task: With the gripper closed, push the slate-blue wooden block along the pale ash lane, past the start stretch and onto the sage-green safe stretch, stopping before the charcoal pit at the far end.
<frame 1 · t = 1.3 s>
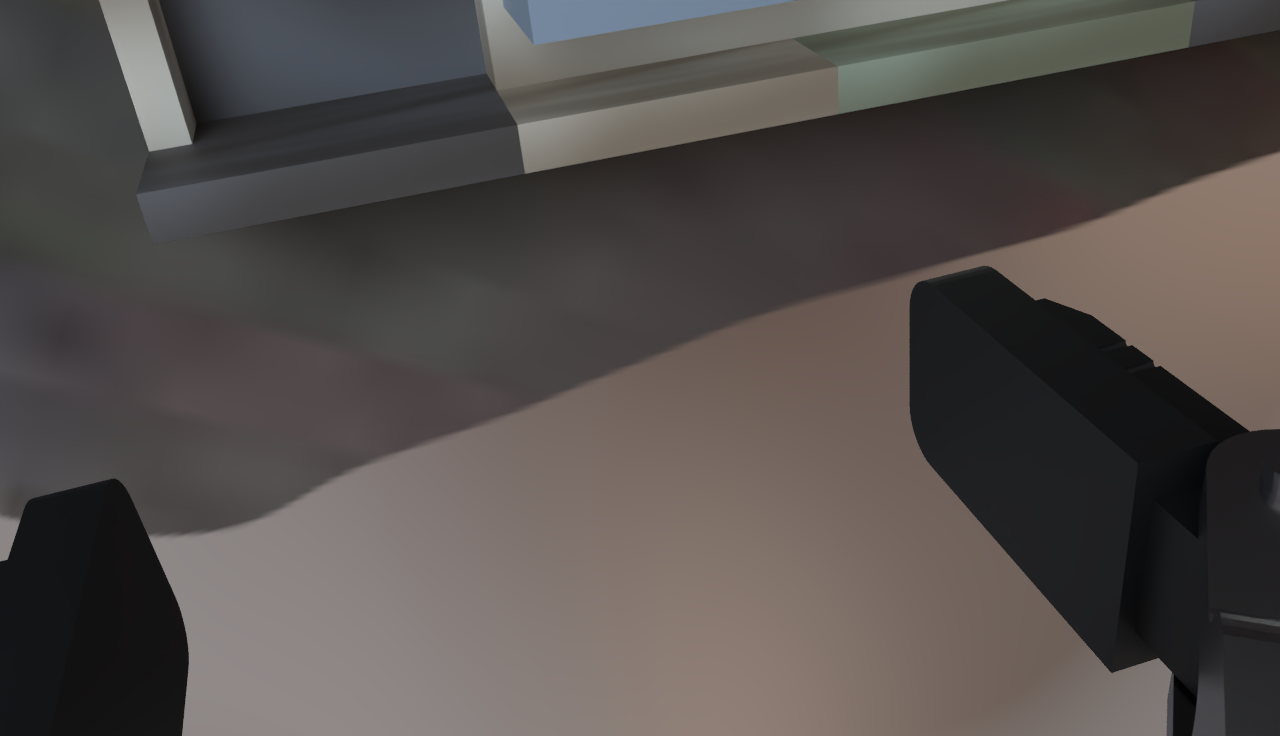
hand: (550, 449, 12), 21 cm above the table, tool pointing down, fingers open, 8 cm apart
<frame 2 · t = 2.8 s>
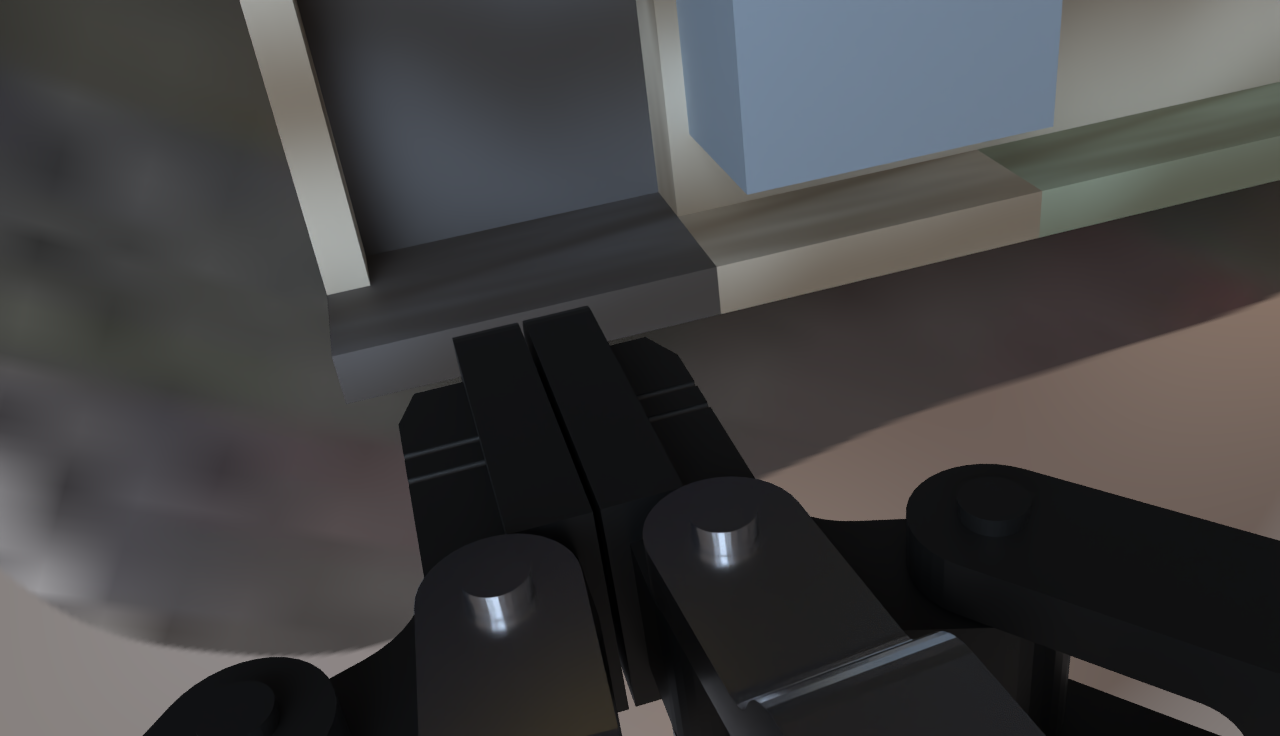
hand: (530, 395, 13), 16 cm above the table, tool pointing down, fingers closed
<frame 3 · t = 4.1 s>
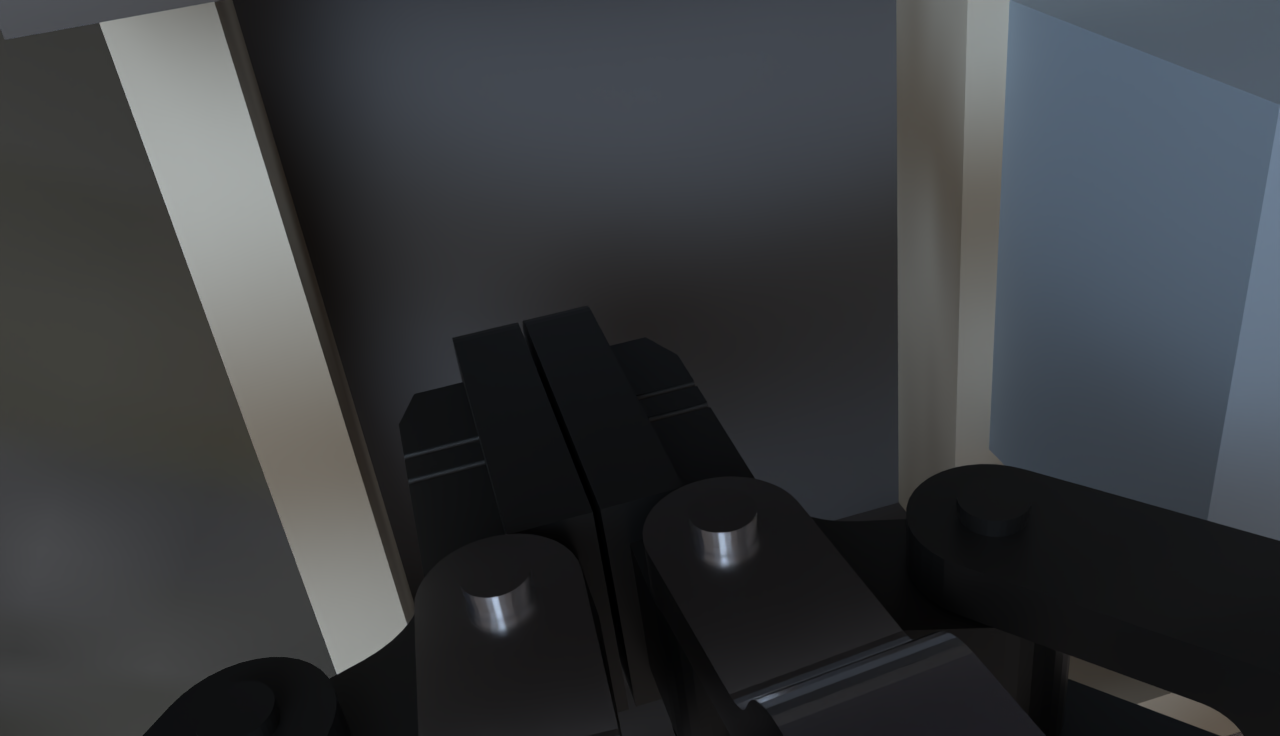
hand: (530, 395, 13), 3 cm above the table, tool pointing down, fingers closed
slate block: (1248, 188, 15), point 2 cm above the table, touching trap lane
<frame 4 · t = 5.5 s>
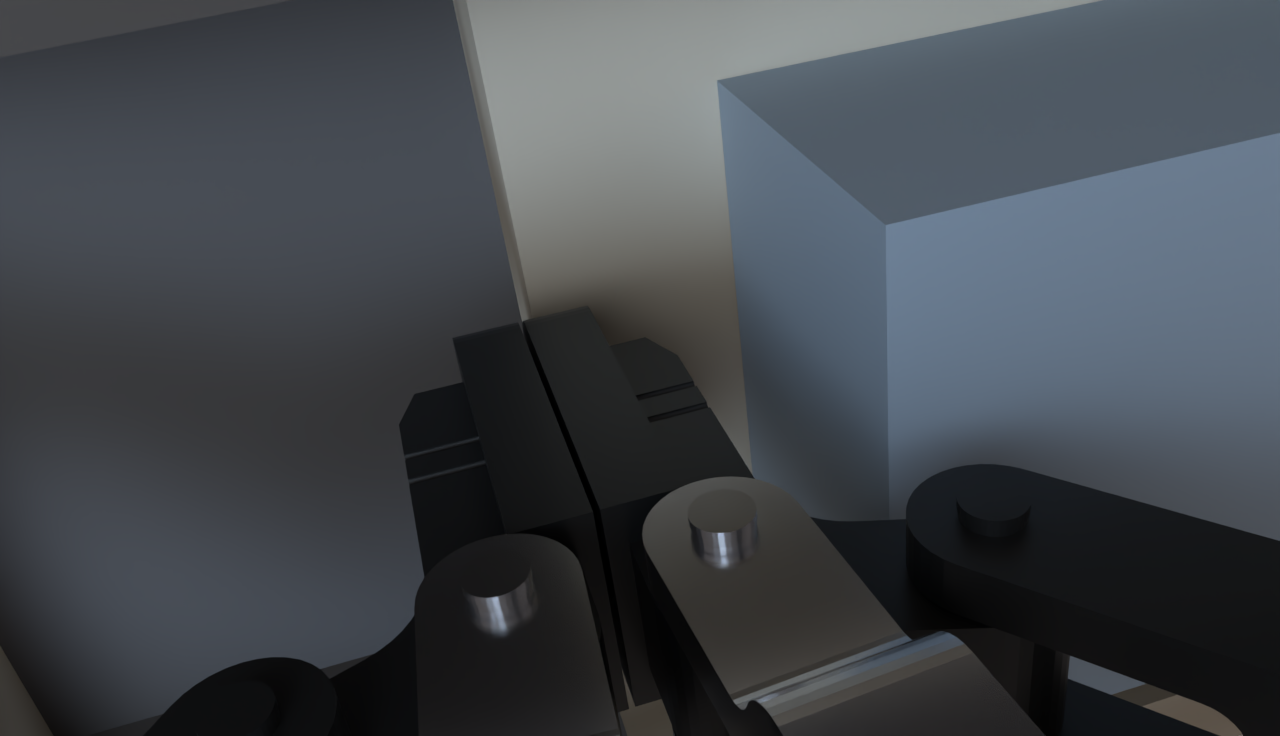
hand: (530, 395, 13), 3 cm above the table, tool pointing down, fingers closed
trap lane: (1139, 139, 16), on the table
slate block: (1010, 264, 14), point 2 cm above the table, touching gripper
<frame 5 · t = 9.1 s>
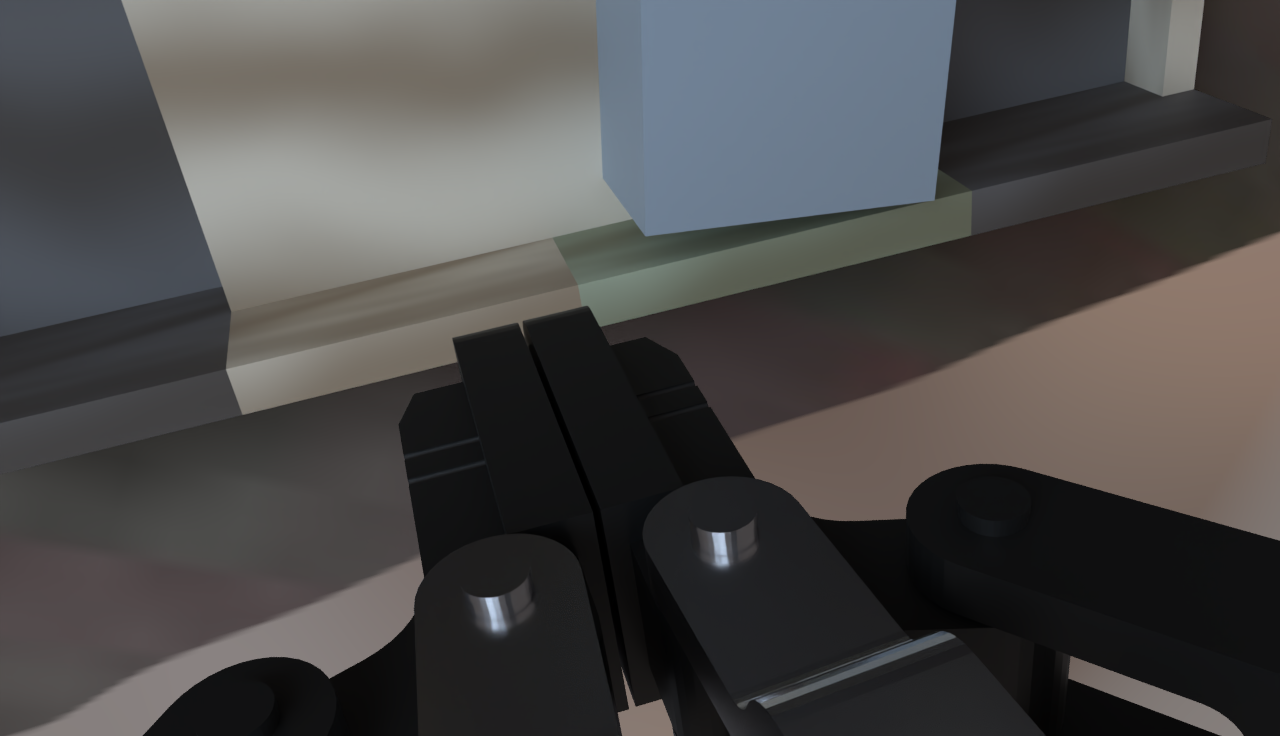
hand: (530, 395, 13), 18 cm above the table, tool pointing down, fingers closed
trap lane: (541, 14, 28), on the table
slate block: (737, 44, 28), point 2 cm above the table, touching trap lane
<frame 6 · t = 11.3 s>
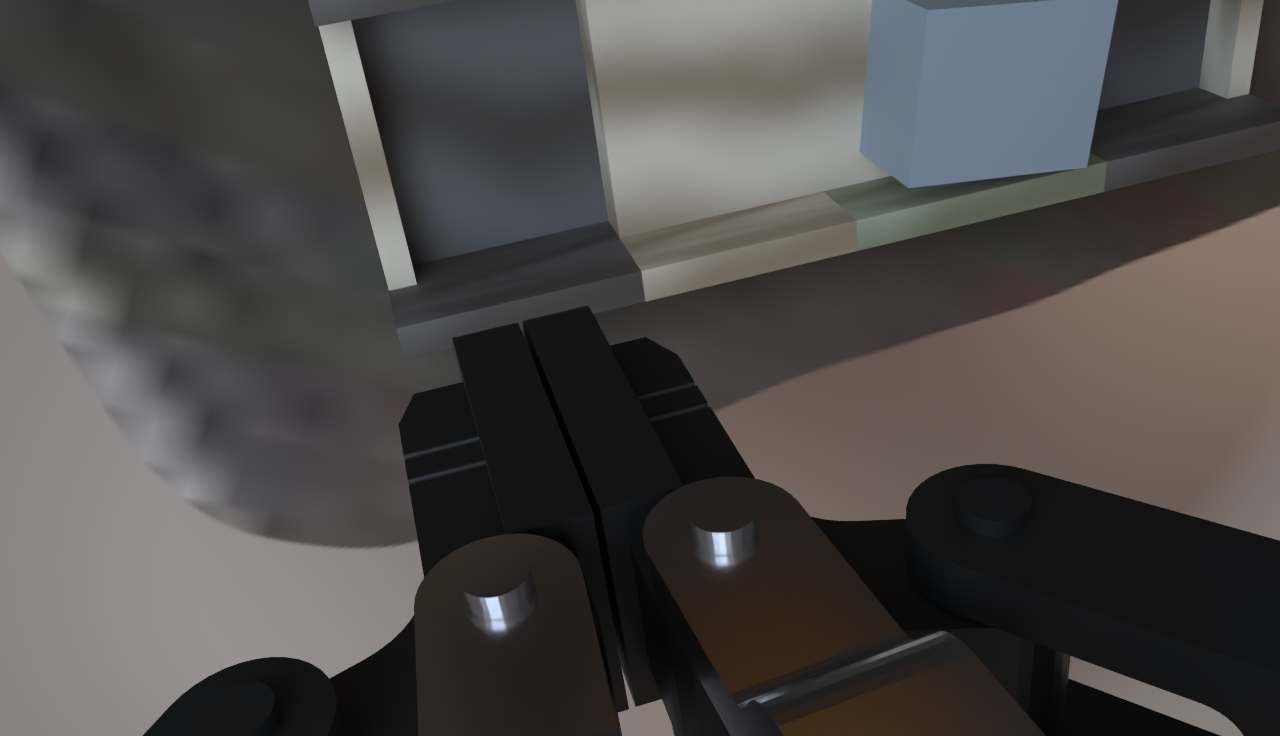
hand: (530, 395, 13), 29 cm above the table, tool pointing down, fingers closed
trap lane: (821, 42, 43), on the table
slate block: (953, 63, 42), point 2 cm above the table, touching trap lane
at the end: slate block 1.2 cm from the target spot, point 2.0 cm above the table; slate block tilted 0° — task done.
